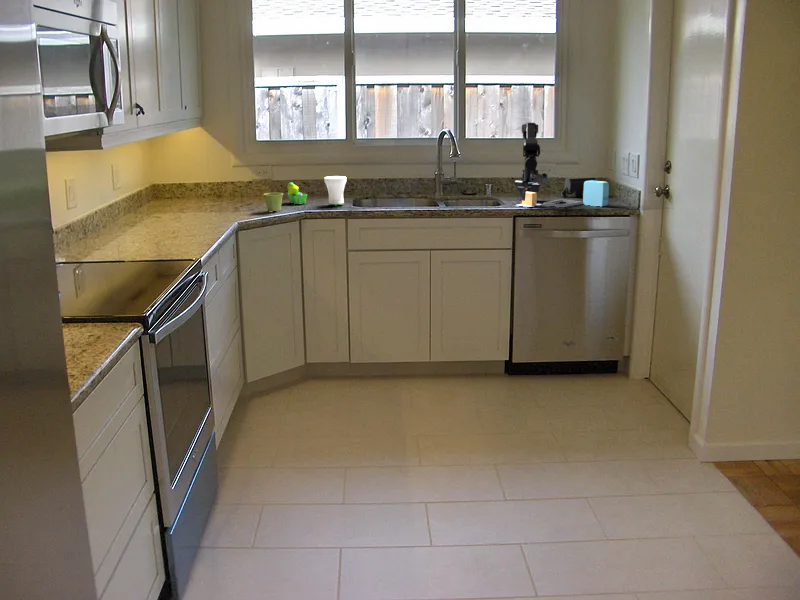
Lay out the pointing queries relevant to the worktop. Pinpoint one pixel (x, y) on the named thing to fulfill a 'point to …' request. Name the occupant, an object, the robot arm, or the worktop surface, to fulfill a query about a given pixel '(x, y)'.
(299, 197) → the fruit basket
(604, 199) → the data package
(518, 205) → the mat
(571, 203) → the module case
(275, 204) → the plant pot
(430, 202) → the worktop surface
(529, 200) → the module
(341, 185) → the cup
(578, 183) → the security camera
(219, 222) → the worktop surface
